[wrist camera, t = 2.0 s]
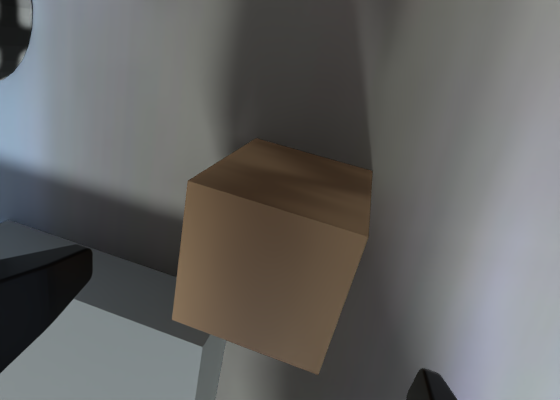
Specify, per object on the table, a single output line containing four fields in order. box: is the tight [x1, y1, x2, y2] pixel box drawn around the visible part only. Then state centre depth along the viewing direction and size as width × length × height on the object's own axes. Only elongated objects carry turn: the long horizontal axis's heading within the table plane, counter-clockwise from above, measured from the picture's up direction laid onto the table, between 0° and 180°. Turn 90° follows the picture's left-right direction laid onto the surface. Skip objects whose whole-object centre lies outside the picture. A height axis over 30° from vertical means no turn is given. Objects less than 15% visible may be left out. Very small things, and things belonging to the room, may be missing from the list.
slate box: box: [0, 220, 226, 400], centre depth 20 cm, size 14×12×4 cm
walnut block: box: [172, 138, 373, 375], centre depth 13 cm, size 5×5×6 cm
